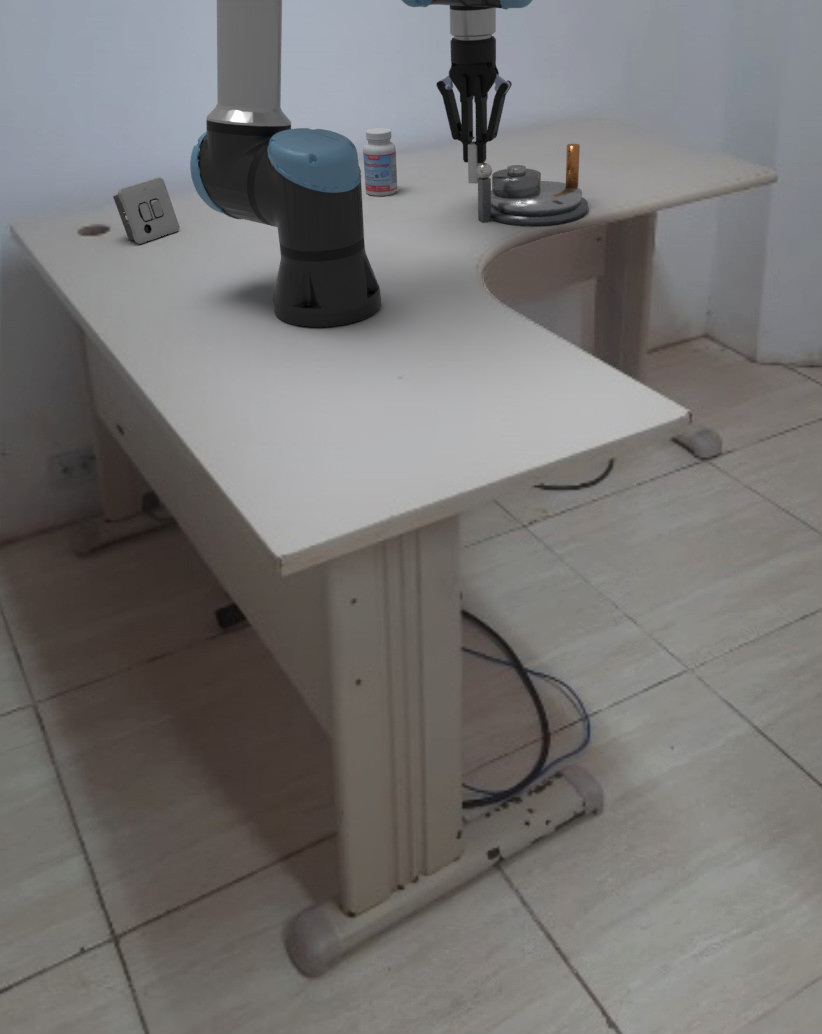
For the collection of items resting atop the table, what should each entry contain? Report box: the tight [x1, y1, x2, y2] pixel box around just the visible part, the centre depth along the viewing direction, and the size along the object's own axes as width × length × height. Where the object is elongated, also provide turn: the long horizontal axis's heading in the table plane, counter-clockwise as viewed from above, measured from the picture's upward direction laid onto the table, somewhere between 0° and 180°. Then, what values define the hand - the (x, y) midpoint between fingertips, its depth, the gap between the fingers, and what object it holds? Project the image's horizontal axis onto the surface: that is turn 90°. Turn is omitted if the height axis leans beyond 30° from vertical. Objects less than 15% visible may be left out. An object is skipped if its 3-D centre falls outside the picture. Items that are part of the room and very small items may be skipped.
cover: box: [491, 164, 542, 199], centre depth 184 cm, size 8×8×4 cm
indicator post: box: [476, 162, 493, 223], centre depth 179 cm, size 3×3×10 cm
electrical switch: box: [112, 177, 180, 245], centre depth 181 cm, size 9×5×9 cm, turn 141°
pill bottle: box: [362, 127, 398, 197], centre depth 197 cm, size 6×6×11 cm
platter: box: [491, 143, 583, 215], centre depth 182 cm, size 16×17×8 cm
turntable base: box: [491, 196, 589, 227], centre depth 185 cm, size 18×18×1 cm
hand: (475, 181), depth 187 cm, fingers closed
